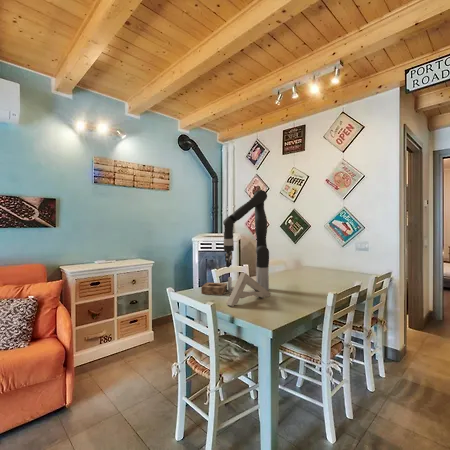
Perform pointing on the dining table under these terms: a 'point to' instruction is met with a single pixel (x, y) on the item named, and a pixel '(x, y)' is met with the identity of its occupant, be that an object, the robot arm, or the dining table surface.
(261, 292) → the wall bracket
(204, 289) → the well block
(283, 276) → the dining table surface
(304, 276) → the dining table surface
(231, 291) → the bracket
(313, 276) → the dining table surface
